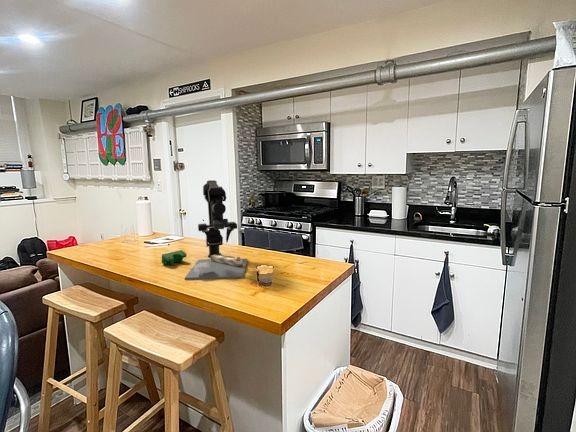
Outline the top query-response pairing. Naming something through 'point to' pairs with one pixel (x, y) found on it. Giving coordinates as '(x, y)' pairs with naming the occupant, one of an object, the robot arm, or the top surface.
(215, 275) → the board
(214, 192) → the robot arm
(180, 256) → the clamp
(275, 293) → the top surface
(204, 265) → the block
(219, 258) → the link
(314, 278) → the top surface
